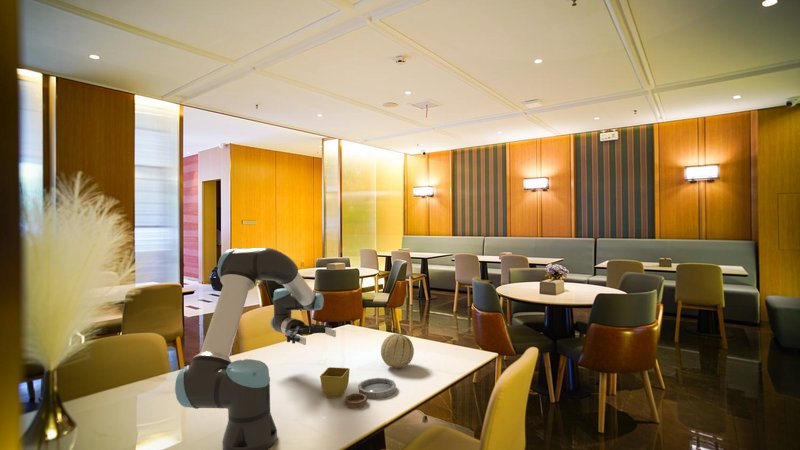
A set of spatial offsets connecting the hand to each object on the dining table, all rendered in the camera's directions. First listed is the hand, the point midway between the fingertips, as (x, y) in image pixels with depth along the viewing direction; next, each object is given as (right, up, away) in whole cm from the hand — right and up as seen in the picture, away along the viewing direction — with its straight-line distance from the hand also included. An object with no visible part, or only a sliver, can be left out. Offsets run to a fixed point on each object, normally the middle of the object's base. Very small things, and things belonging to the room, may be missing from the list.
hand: (320, 337), depth 155 cm
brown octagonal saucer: (+15, -20, -14) cm, 29 cm away
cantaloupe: (+30, -20, +21) cm, 42 cm away
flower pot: (+7, -20, -7) cm, 22 cm away
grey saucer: (+22, -20, -3) cm, 30 cm away
